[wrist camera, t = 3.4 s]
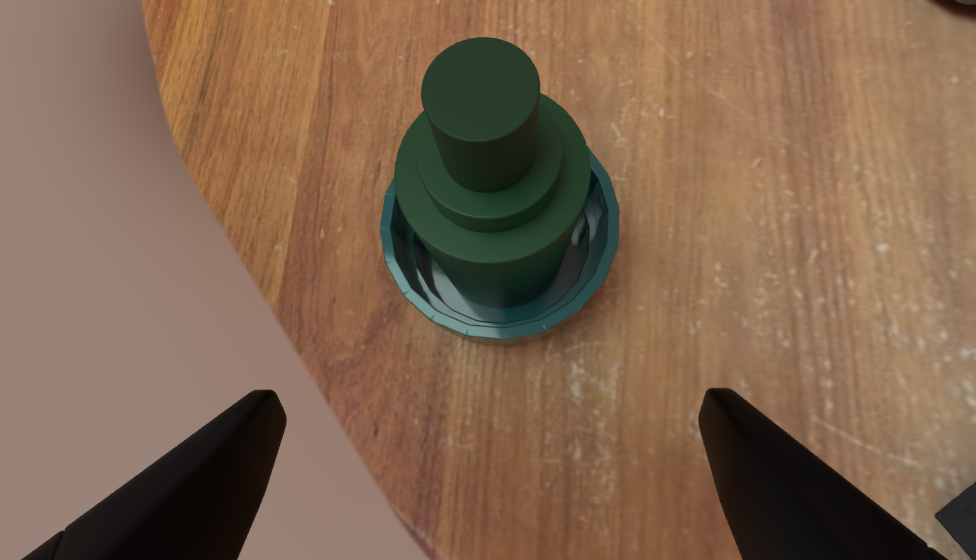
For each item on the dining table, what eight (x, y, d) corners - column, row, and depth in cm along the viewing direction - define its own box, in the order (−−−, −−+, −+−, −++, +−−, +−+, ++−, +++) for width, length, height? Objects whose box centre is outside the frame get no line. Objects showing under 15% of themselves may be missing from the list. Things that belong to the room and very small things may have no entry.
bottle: (558, 313, 22) (615, 226, 9) (434, 303, 22) (324, 207, 10) (566, 195, 23) (624, -24, 10) (448, 188, 24) (368, -28, 11)
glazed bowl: (593, 355, 22) (614, 350, 17) (396, 337, 23) (363, 326, 18) (601, 170, 24) (622, 118, 19) (422, 160, 25) (398, 107, 20)
